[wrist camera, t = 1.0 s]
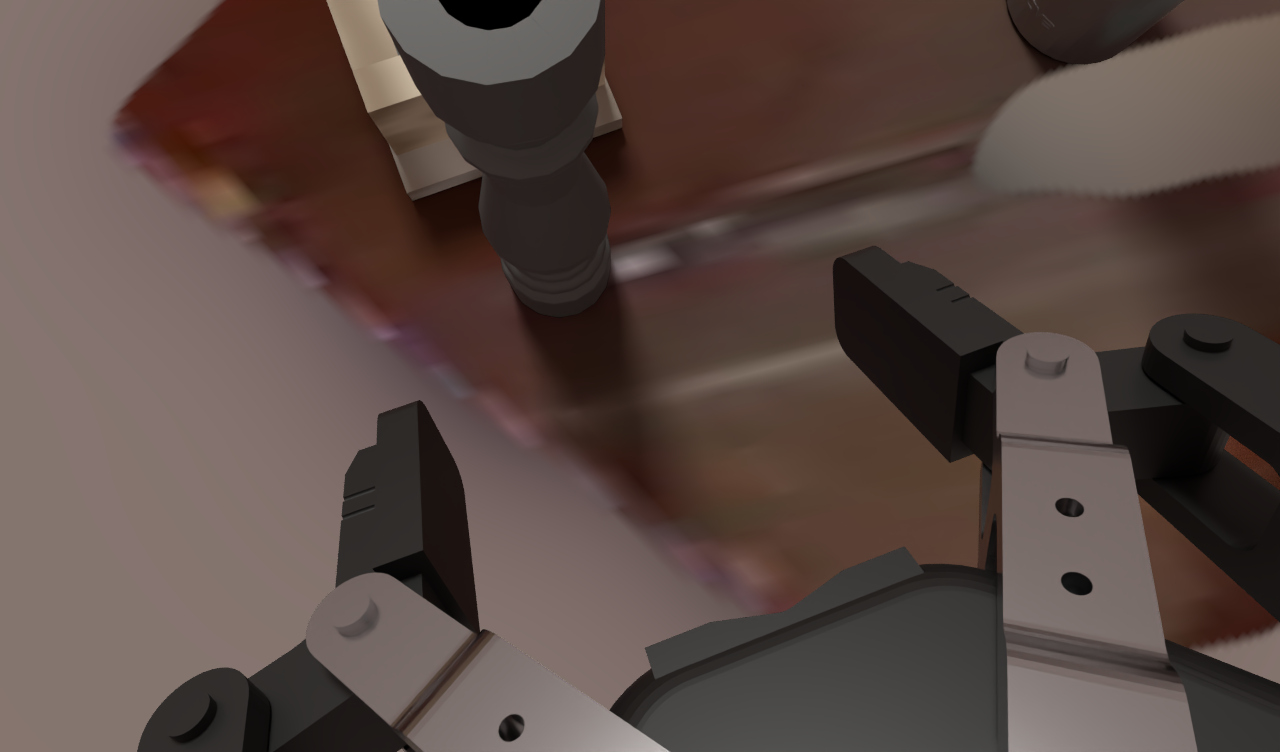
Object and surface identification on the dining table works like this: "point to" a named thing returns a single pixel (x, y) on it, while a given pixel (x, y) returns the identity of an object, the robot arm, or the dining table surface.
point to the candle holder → (521, 130)
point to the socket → (416, 103)
